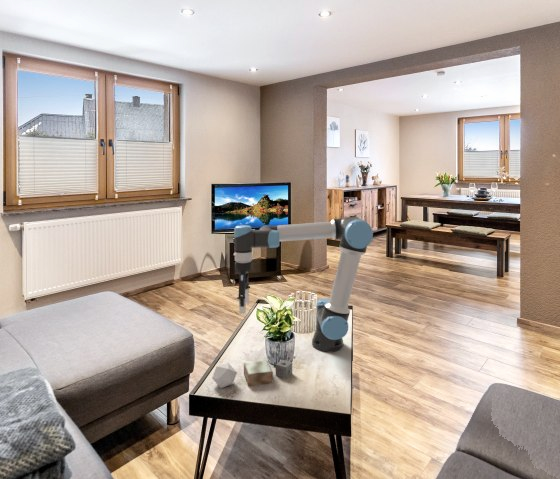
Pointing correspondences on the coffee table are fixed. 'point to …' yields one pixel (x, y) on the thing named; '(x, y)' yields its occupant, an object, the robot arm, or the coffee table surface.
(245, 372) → the walnut base
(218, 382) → the white faceted polyhedron
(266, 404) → the coffee table surface
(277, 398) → the coffee table surface
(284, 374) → the grey cube
